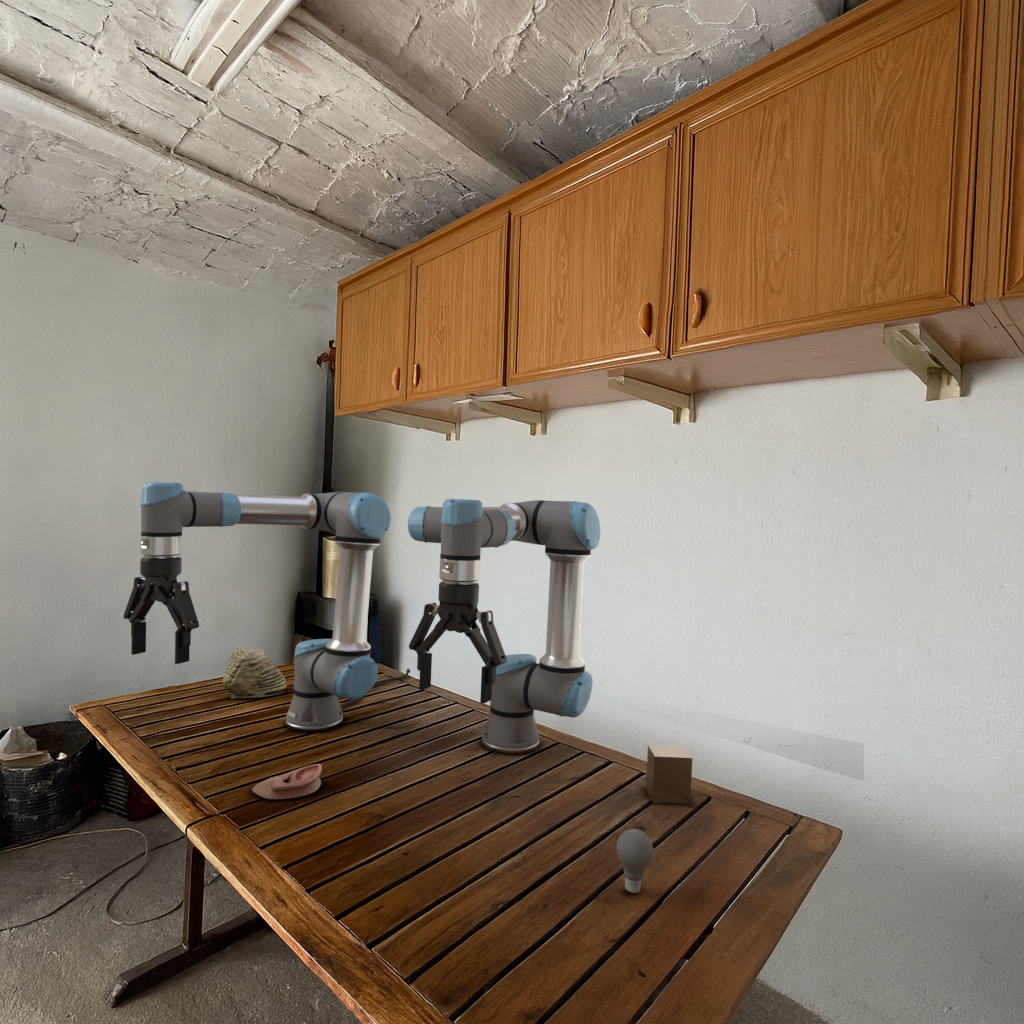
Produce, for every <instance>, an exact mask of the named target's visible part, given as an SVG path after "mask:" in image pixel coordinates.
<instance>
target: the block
mask: <svg viewBox="0 0 1024 1024" xmlns="http://www.w3.org/2000/svg"><path fill="white" fill-rule="evenodd" d="M692 773H693V757H692V755H691V754H690V752H689V751H688V750H687V748H686V747H685V746H684V745H661V744H647V757H646V776H645V777H646V779H645V782H646V783H645V791H646V793H647V794H648V796H649V799H650V801H651V803H653V804H673V805H674V804H677V805H691V797H692V796H691V795H692V793H691V792H692V775H693V774H692Z"/></svg>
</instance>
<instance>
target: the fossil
mask: <svg viewBox="0 0 1024 1024" xmlns="http://www.w3.org/2000/svg"><path fill="white" fill-rule="evenodd" d="M222 676H223V677H222V685H223V687H224V688H225V690H226V691H228V693H229V698H230V699H250V698H264V697H271V696H275V695H281V694H284V693H285V691H286V689H287V687H288V686H287V680H286V678H285V676H284V674H283V673H282V672H281V669H279V668H278V667H277V665H276V663H275V662H274V660H273V659H272V658H271V657H270V656H269V655H268V654H267V653H266V652H265V650H264V649H263V648H260V647H258V648H251V647H247V646H246V647H245V646H238V647H237V648H236V649H235V650H233V651H232V653H231V656H230V657H229V659H228V660H227V663H226V666H225V668H224V671H223V675H222Z"/></svg>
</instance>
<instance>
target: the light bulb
mask: <svg viewBox="0 0 1024 1024" xmlns="http://www.w3.org/2000/svg"><path fill="white" fill-rule="evenodd" d="M615 849H616V854H617V857H618V859H619V861H620V863H621V865H622V867H623V873H624V874H623V875H624V876H625V878H624V888H625V890H627V891H628V892H630V893H634V894H635V893H639V892H640V891H641V889H642V887H641V886H642V879H643V877H644V875H645V871H646V868H647V867H648V866H649V864H650V863H651V861H652V859H653V855H654V847H653V843H652V841H651V838H649V836H648V835H647V834H646V833H645V832H643V831H642V830H641V829H636V828H629V829H627V830H625V831H623V832H622V833H621V834H620V835H619V837H618V839H617V841H616V847H615Z"/></svg>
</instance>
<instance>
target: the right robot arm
mask: <svg viewBox="0 0 1024 1024" xmlns="http://www.w3.org/2000/svg"><path fill="white" fill-rule="evenodd" d="M600 522H601V521H600V517H599V515H598V512H597V510H596V508H595V507H594V505H592V504H591V503H588V502H582V501H575V500H573V501H570V500H569V501H567V500H543V499H538V500H537V499H536V500H535V499H534V500H526V501H519V502H507V503H504V504H501V505H499V506H483V502H482V501H481V500H479V499H467V498H466V499H465V498H447V499H445V500H444V501H443V503H442V506H430V505H426V506H417V507H415V508H414V509H412V510H411V512H410V513H409V515H408V519H407V530H408V534H409V536H410V537H411V539H413V540H414V541H417V542H421V543H422V542H423V543H426V544H427V543H431V544H433V543H434V544H440V553H439V554H440V555H439V556H440V558H439V575H438V576H439V577H438V578H439V579H440V580H441V581H440V582H439V583H438V602H439V604H437V603H436V602H431V603H426V604H424V607H423V615H422V617H421V619H420V621H419V623H418V625H417V628H416V629H415V632H414V633H413V636H412V638H411V639H410V641H409V644H408V649H409V650H411V651H414V652H416V654H417V656H416V657H417V659H416V661H417V663H416V668H417V671H419V681H418V683H419V685H418V690H421V691H424V690H426V689H429V688H431V686H432V664H433V663H432V662H433V653H432V652H431V649H432V648H433V646H434V645H435V644H436V643H437V642H438V640H439V639H440V638H441V637H442V636H443V635H444V633H445V632H456V633H459V634H463V633H464V635H465V636H466V637H467V638H469V640H470V642H471V644H472V645H473V647H474V648H475V650H476V652H477V654H478V655H479V657H480V658H481V660H482V661H483V663H484V666H481V678H480V700H479V704H482V705H484V704H487V703H488V702H489V714H488V717H487V719H486V722H485V725H484V728H483V731H482V733H481V744H482V746H484V747H485V748H486V749H488V750H489V751H492V752H496V753H500V754H507V755H520V754H526V753H530V752H533V751H535V750H536V749H538V748H539V746H540V734H539V730H538V726H537V723H536V719H535V711H538V712H543V713H547V714H552V715H556V716H559V717H565V718H567V717H568V718H578V717H579V716H581V715H582V714H583V712H584V711H586V708H587V706H588V703H589V701H590V699H591V695H592V691H593V683H594V681H593V675H592V674H591V673H590V672H589V671H586V661H584V659H583V658H582V657H581V656H580V653H581V652H580V651H581V636H582V635H581V633H582V617H583V615H582V613H583V595H584V576H585V575H584V574H585V562H586V561H587V560H588V559H589V558H590V557H592V554H591V553H592V550H595V549H597V547H598V546H599V543H600V539H601V524H600ZM510 542H520V543H525V544H526V543H527V544H531V545H537V546H544V548H545V549H544V554H545V555H546V556H547V557H548V559H549V561H550V563H549V580H548V581H549V583H548V599H547V600H548V601H547V603H548V605H547V620H546V621H547V623H546V641H545V642H546V643H545V654H544V655H542V656H541V657H540V658H539V660H537V657H536V656H535V655H534V654H529V653H513V654H506V653H505V651H504V648H503V645H502V641H501V640H500V636H499V634H498V631H497V628H496V626H495V623H494V612H493V611H492V610H486V611H479V609H478V604H479V601H480V584H479V583H478V581H480V580H481V550H482V549H484V548H485V549H486V548H496V549H497V548H499V547H503V546H506V545H507V544H509V543H510ZM437 615H438V617H439V620H438V622H437V623H436V624H435V625H434V628H433V629H432V630H431V631H430V633H429V630H430V628H431V626H432V624H433V622H434V620H435V618H436V616H437ZM477 620H478V623H480V625H481V628H480V627H479V625H478V623H477ZM481 629H482V632H483V634H482V632H481ZM428 633H429V634H428ZM483 635H484V636H483ZM538 661H539V663H538Z"/></svg>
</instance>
